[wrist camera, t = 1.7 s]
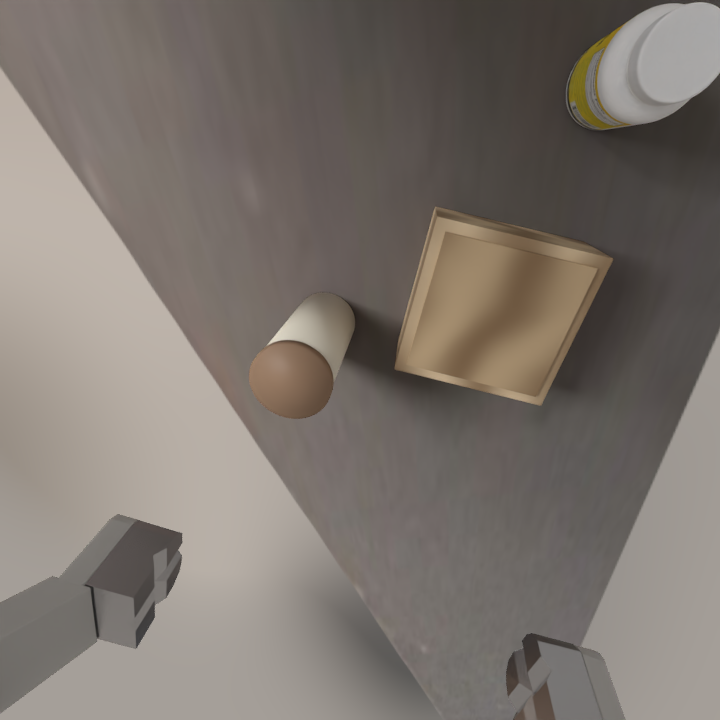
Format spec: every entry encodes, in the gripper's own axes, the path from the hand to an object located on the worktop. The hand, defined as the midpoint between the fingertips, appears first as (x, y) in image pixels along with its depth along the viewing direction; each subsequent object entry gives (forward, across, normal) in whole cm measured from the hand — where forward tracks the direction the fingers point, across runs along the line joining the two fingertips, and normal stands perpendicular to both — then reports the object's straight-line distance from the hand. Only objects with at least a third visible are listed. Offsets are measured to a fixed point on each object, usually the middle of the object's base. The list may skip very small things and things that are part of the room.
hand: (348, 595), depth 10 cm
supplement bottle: (+30, +10, +16) cm, 35 cm away
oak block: (+30, +7, 0) cm, 31 cm away
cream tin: (+30, -6, -7) cm, 31 cm away
